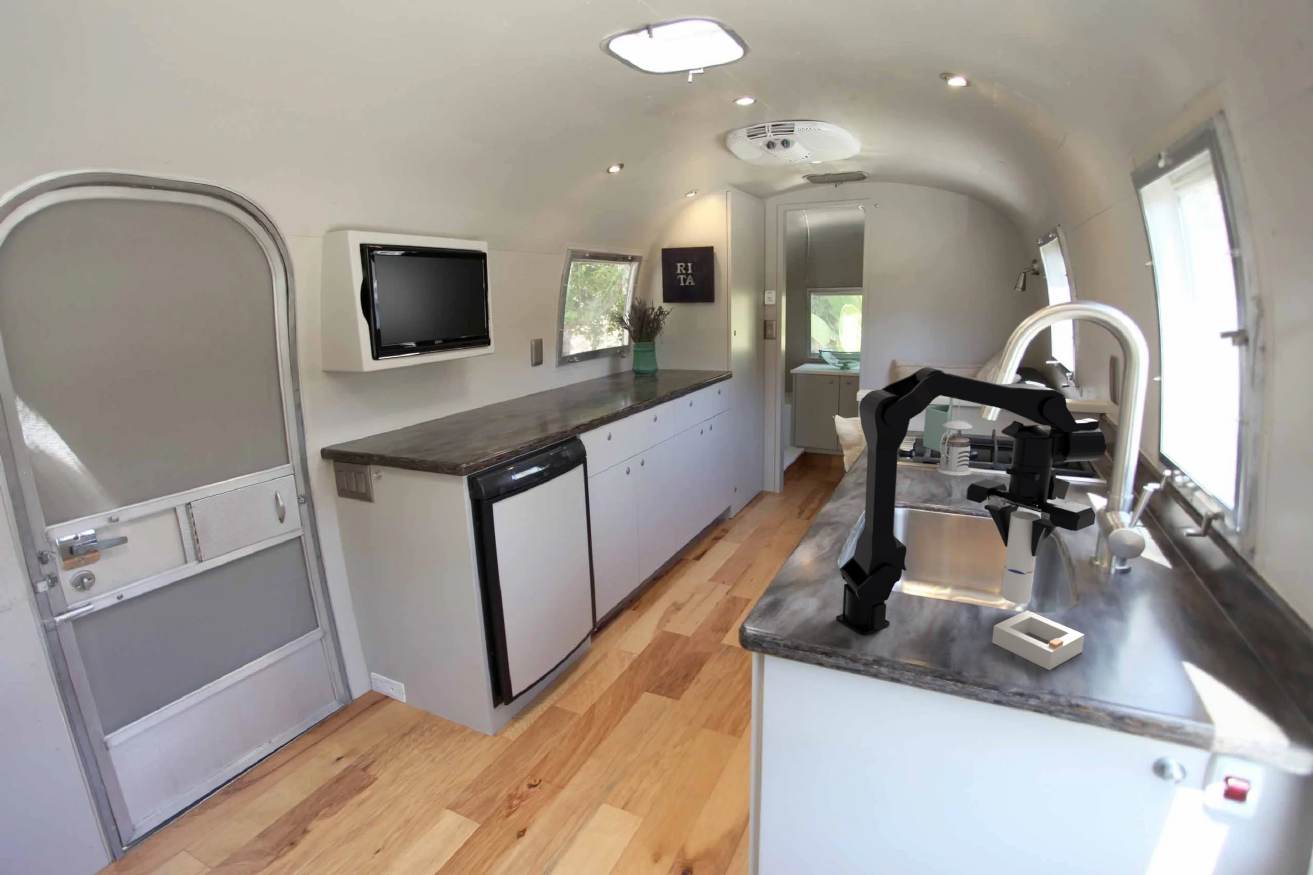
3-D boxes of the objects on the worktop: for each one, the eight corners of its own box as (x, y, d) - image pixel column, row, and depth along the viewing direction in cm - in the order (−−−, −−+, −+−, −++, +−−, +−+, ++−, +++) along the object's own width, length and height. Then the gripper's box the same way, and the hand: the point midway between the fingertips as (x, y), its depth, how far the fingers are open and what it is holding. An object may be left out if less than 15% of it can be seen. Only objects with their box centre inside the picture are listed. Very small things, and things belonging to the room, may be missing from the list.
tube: (1020, 591, 114) (1030, 510, 110) (1035, 603, 110) (1045, 519, 106) (996, 592, 114) (1005, 511, 110) (1010, 604, 110) (1020, 520, 106)
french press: (978, 471, 193) (986, 388, 187) (956, 478, 187) (963, 392, 181) (947, 464, 201) (954, 384, 195) (925, 471, 195) (931, 388, 189)
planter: (925, 440, 230) (929, 385, 225) (949, 442, 226) (954, 386, 222) (920, 451, 216) (924, 393, 211) (946, 454, 212) (951, 394, 208)
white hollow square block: (992, 642, 104) (994, 622, 103) (1025, 626, 108) (1027, 607, 108) (1049, 670, 96) (1052, 648, 96) (1082, 651, 101) (1085, 631, 100)
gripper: (1120, 467, 102) (1106, 559, 106) (1006, 443, 118) (997, 524, 122) (1081, 479, 97) (1068, 576, 100) (967, 453, 112) (960, 537, 116)
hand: (1021, 551), depth 110 cm, fingers closed on tube, 4 cm apart
